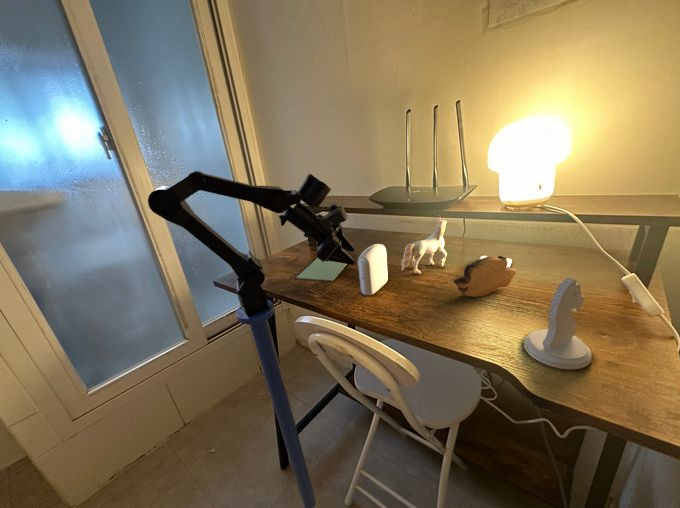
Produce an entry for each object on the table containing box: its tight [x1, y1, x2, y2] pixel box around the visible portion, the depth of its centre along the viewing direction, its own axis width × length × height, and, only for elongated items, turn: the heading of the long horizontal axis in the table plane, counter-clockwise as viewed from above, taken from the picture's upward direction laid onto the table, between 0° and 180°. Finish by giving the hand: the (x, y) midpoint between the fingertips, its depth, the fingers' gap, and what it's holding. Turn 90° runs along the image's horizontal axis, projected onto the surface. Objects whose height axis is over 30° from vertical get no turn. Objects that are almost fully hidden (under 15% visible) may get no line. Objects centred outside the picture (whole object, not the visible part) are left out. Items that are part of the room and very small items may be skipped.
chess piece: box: [523, 277, 592, 370], centre depth 52 cm, size 10×10×15 cm
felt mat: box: [295, 257, 348, 282], centre depth 103 cm, size 18×13×1 cm
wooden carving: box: [453, 255, 517, 298], centre depth 73 cm, size 16×5×10 cm, turn 110°
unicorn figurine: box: [400, 216, 448, 275], centre depth 90 cm, size 7×20×13 cm, turn 128°
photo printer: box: [357, 243, 389, 296], centre depth 83 cm, size 10×4×12 cm, turn 141°
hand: (354, 256), depth 82 cm, fingers open, 9 cm apart
